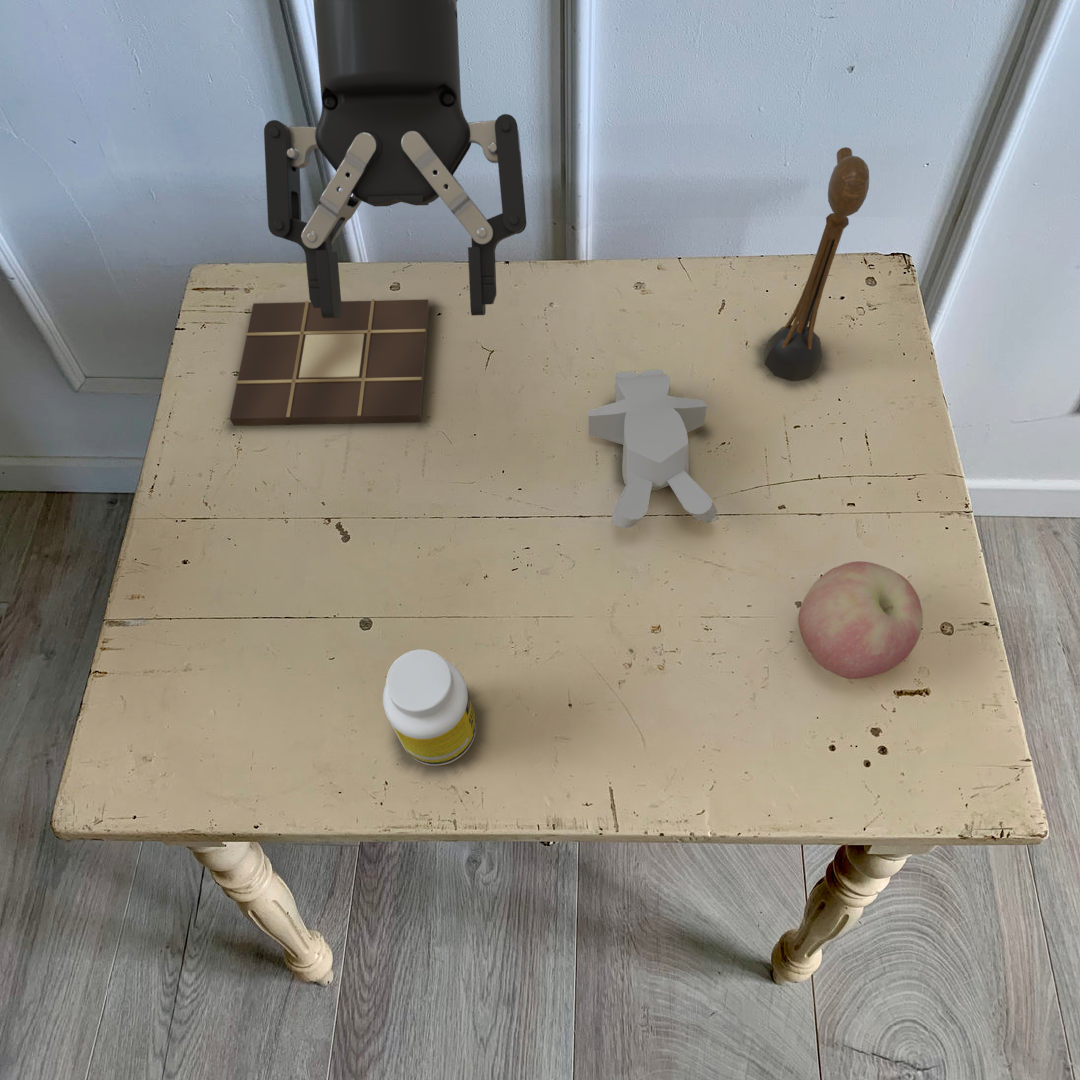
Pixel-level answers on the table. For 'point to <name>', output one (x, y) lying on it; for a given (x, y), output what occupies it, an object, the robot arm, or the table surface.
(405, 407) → the board
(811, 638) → the apple
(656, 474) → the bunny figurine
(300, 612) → the table surface
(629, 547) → the table surface
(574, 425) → the table surface
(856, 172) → the wooden tabletop sculpture
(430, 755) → the supplement bottle
